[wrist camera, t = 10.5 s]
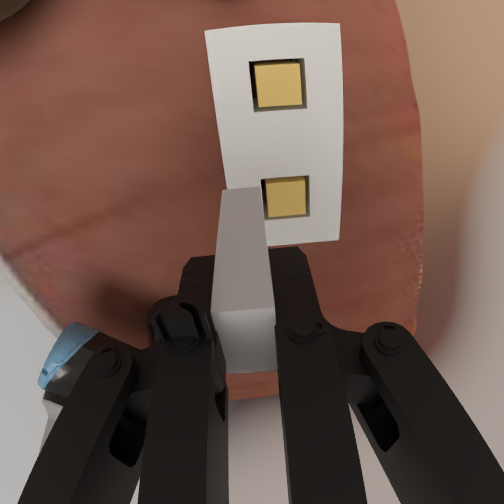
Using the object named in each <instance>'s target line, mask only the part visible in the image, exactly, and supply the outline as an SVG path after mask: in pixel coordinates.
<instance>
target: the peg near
mask: <svg viewBox="0 0 504 504" xmlns="http://www.w3.org/2000/svg"><path fill="white" fill-rule="evenodd" d="M253 68H254V77H255V87H256V96H257V101H258V106H259V107H270V106H284V105H302V93H301V77H300V64H299V63H297V62H294V61H291V60H271V61H258V62H253Z"/></svg>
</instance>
